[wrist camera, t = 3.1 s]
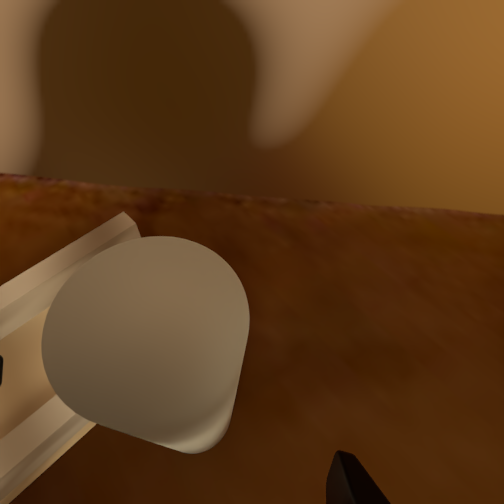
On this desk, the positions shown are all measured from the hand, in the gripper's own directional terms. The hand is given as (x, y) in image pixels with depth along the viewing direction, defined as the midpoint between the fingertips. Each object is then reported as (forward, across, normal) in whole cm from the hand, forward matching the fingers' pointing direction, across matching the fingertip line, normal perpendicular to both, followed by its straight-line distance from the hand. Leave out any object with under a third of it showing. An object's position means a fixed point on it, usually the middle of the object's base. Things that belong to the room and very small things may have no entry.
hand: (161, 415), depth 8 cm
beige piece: (+7, 0, +5) cm, 9 cm away
